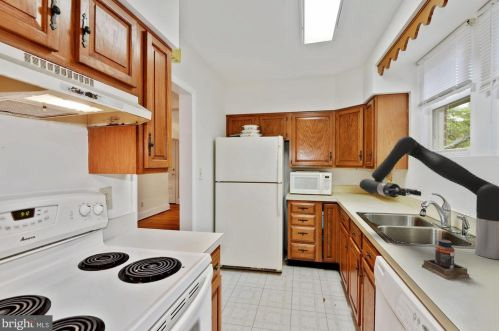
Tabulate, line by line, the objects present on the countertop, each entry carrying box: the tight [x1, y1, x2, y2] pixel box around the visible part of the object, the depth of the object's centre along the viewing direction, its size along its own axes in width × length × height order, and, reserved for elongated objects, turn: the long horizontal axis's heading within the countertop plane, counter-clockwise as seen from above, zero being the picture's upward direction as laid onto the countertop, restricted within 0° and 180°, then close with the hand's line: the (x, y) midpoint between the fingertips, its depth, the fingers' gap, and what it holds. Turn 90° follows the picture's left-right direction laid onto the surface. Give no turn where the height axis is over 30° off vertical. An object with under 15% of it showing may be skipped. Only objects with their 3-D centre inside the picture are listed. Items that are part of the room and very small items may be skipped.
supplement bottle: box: [434, 239, 455, 269], centre depth 96 cm, size 6×6×11 cm
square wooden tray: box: [421, 258, 470, 280], centre depth 96 cm, size 10×10×3 cm
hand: (413, 193), depth 117 cm, fingers open, 8 cm apart
